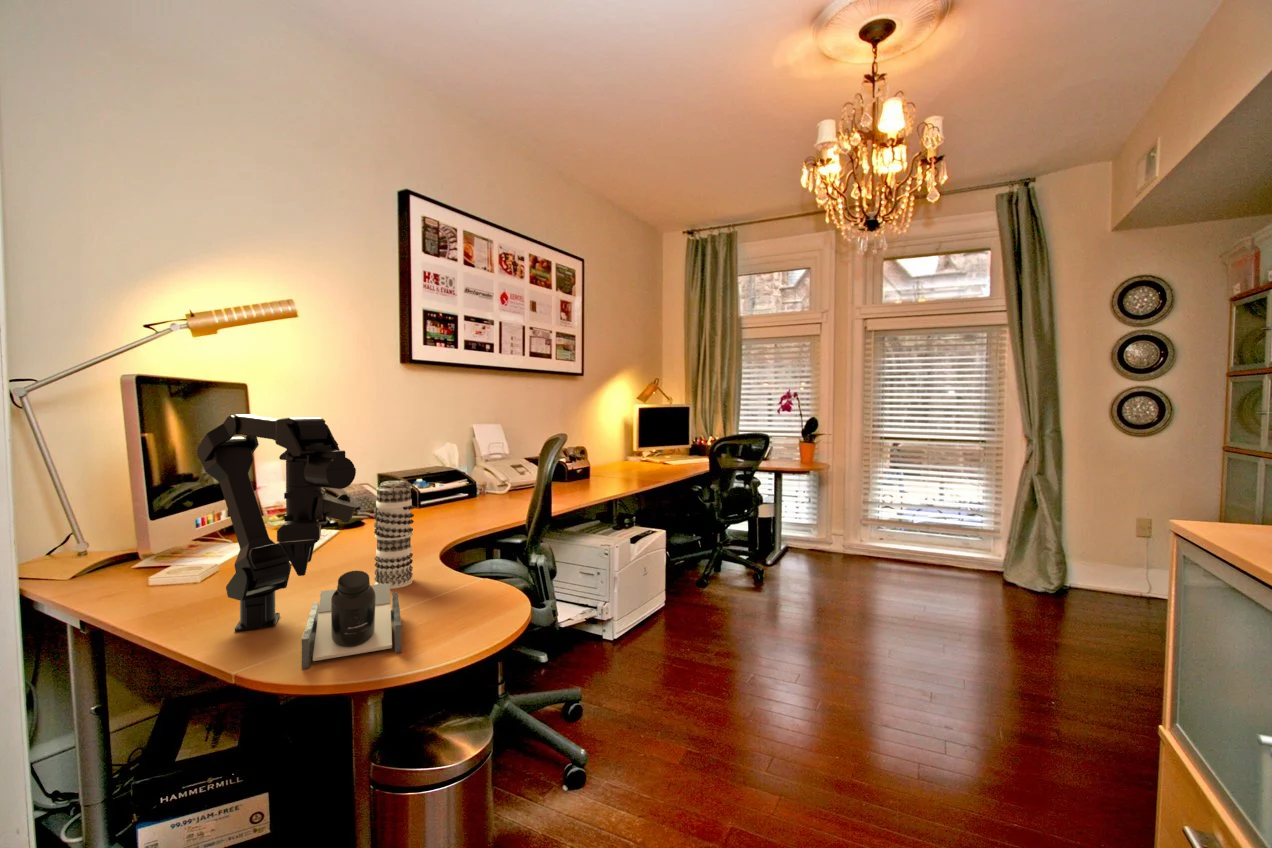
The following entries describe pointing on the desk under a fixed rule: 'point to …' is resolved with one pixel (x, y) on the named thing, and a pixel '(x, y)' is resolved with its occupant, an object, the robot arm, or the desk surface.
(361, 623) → the supplement bottle
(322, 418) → the robot arm
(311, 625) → the flap frame
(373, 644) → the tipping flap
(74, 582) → the desk surface
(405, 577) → the decorative candle
